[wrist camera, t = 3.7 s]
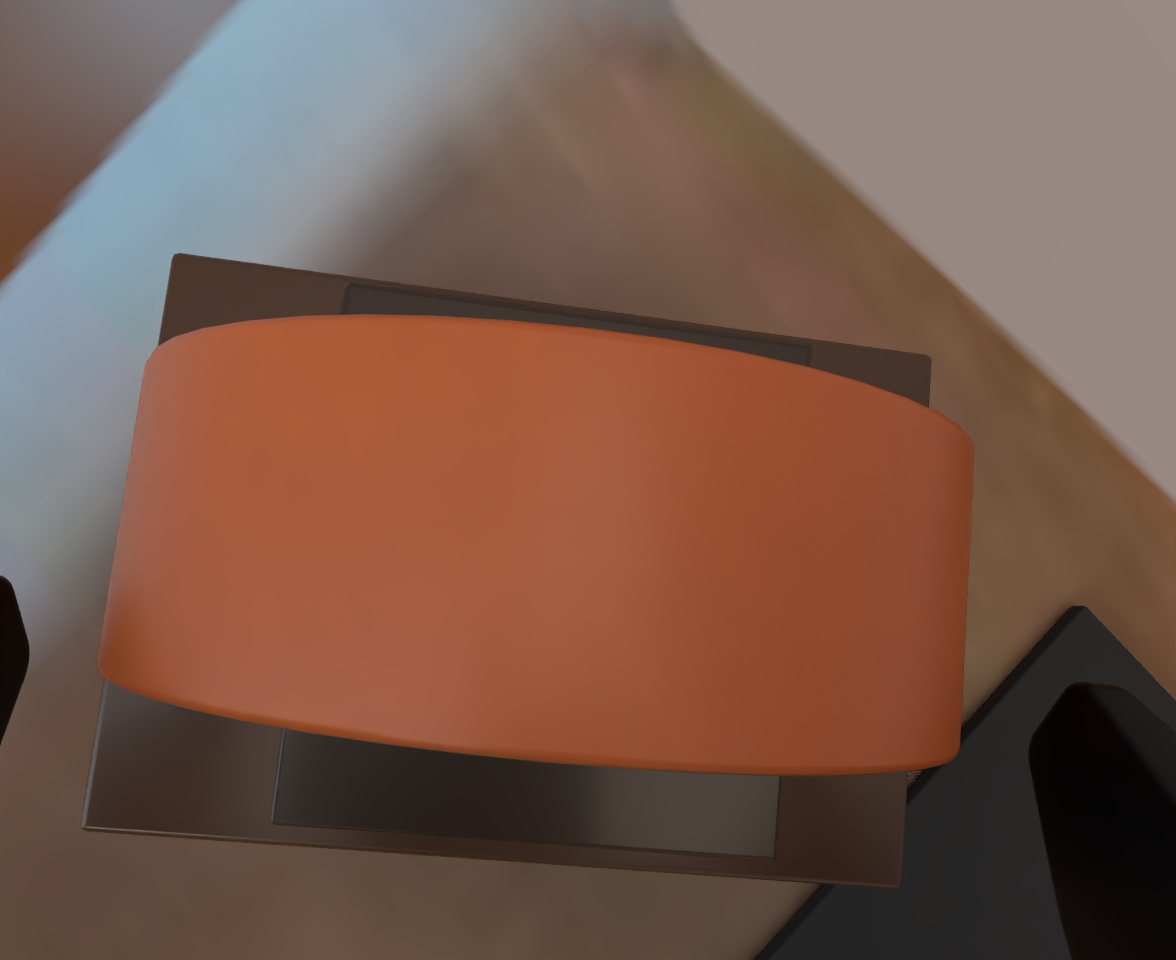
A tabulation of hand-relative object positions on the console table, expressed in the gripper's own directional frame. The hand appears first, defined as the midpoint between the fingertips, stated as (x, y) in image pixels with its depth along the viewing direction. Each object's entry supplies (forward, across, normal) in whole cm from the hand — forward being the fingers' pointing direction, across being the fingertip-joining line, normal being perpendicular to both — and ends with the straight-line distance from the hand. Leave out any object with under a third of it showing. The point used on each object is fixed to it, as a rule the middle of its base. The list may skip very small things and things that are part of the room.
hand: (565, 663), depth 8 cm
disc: (+3, 0, +2) cm, 4 cm away
